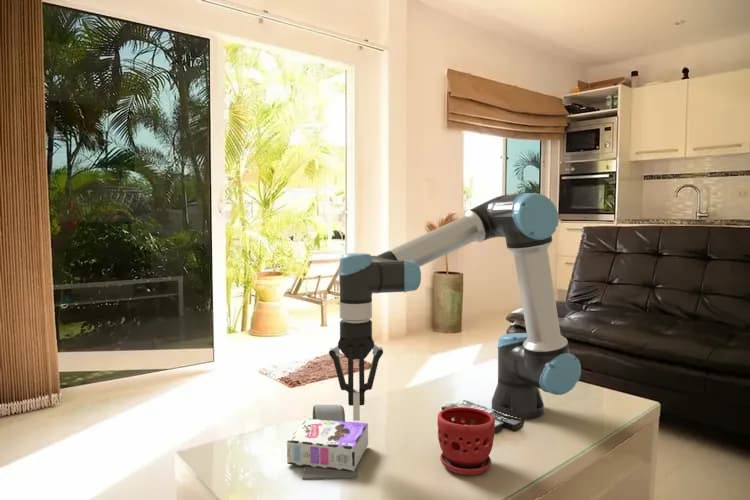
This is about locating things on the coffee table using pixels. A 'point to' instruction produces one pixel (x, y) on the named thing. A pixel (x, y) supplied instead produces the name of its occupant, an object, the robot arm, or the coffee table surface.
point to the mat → (327, 473)
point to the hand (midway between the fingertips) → (356, 418)
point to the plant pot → (465, 439)
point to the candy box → (328, 444)
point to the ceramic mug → (329, 412)
